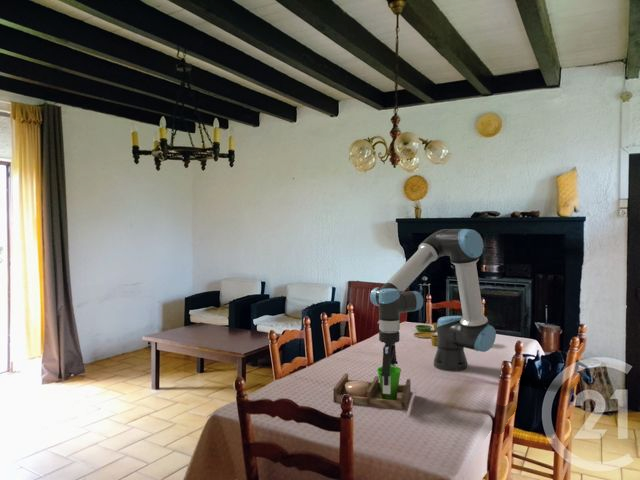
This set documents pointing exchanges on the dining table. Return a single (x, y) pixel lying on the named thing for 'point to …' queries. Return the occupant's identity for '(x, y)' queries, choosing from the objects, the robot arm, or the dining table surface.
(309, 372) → the dining table surface
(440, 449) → the dining table surface
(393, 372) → the cup
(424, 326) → the tableware set
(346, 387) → the egg
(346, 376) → the rack
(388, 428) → the dining table surface
